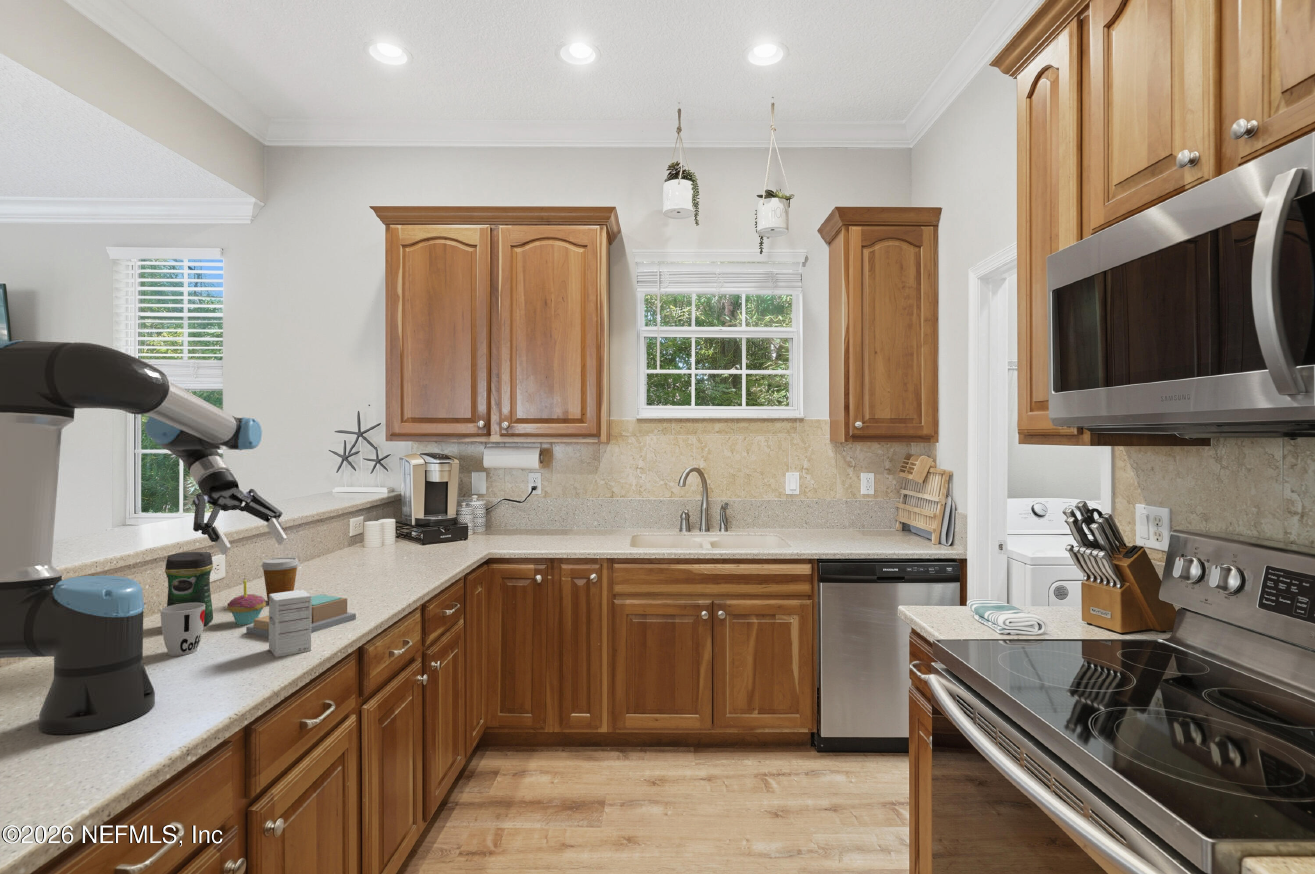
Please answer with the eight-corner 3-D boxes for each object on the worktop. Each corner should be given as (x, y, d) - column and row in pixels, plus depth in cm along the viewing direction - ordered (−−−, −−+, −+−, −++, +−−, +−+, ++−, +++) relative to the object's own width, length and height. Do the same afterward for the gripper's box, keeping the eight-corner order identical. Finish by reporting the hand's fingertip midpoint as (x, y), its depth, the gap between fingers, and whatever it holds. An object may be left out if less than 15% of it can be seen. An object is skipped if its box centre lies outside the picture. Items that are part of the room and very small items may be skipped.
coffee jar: (217, 620, 170) (218, 548, 170) (204, 628, 162) (204, 554, 162) (174, 622, 167) (175, 550, 167) (159, 631, 160) (159, 555, 160)
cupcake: (262, 625, 166) (262, 577, 166) (222, 628, 162) (223, 580, 162) (268, 616, 173) (268, 571, 173) (231, 619, 170) (231, 573, 170)
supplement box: (267, 649, 147) (268, 593, 147) (304, 642, 152) (304, 588, 152) (274, 658, 141) (274, 599, 141) (311, 650, 146) (312, 594, 146)
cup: (181, 659, 140) (181, 613, 140) (150, 656, 142) (150, 610, 142) (214, 647, 148) (214, 603, 148) (184, 645, 149) (184, 601, 149)
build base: (285, 640, 153) (285, 616, 153) (246, 632, 159) (246, 609, 159) (355, 619, 171) (356, 597, 171) (318, 612, 177) (318, 591, 177)
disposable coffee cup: (266, 598, 192) (266, 557, 192) (302, 596, 195) (302, 556, 195) (256, 606, 183) (257, 563, 183) (294, 604, 186) (295, 562, 186)
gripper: (257, 485, 171) (296, 547, 165) (151, 494, 148) (192, 566, 142) (270, 466, 169) (311, 528, 163) (165, 471, 146) (208, 544, 140)
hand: (256, 546), depth 152 cm, fingers open, 13 cm apart
